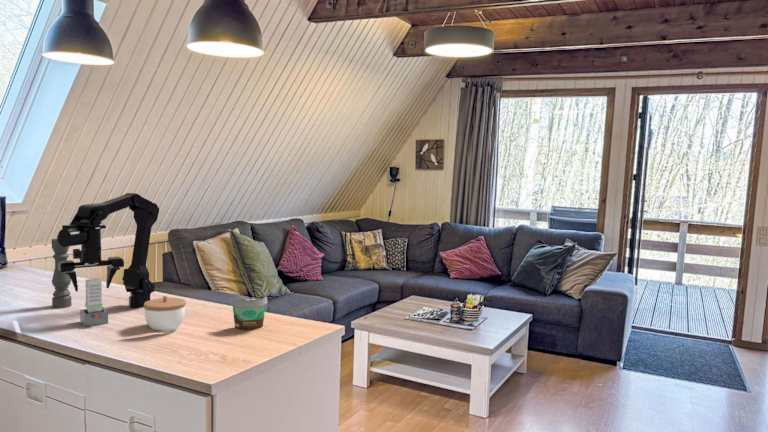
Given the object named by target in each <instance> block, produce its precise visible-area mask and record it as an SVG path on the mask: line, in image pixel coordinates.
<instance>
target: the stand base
mask: <svg viewBox="0 0 768 432" xmlns="http://www.w3.org/2000/svg"><path fill="white" fill-rule="evenodd" d="M79 320H80V323H81V325H82V326H83V327H93V326H100V325H107V324H109V311H108V310H107V309H106V308H105V307H103V306H102V312H98V313H90V314H88V313H87V312H86V308H85V309H80V310H79Z"/></svg>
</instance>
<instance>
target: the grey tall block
mask: <svg viewBox="0 0 768 432" xmlns="http://www.w3.org/2000/svg"><path fill="white" fill-rule="evenodd" d="M102 285H103V283H102V280H101V279H100V278H89V279H85V303H84V305H85V306H84V307H85V309H86V312H87V313H88V314H90V313H98V312H102V307H103V300H102V299H103V295H102V294H103V291H102V290H103V289H102Z"/></svg>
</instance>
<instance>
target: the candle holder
mask: <svg viewBox="0 0 768 432" xmlns="http://www.w3.org/2000/svg"><path fill="white" fill-rule="evenodd" d="M51 249H52V251H53V253H54V254H53V255H52V258H53V260H54V271H53V275H52V279H51V284H52V286H53V287H54V291H53V293H52V295H53V296H52V297H51V298H52V299H51V304H52V305H51V307H52V308H53V309H65V308H69V307H71V306H72V296H71V291H69V286H70V285H71V284H72V281H71V279H70V277H69V275H68V274H65V273H64V272H60V271H59V270H58V263H59V262H60V261H67V260H68V258H69V257H70V255H69V254H68V251H69V249H70V247H62V246H61V245H60V244H59V242H58V240H57V238H52V239H51Z"/></svg>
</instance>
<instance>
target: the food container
mask: <svg viewBox="0 0 768 432" xmlns="http://www.w3.org/2000/svg"><path fill="white" fill-rule="evenodd" d="M267 304H268V297H267V295H265V296H264V297H261V298H260V297H259V298H254V297H253V298H251V297H250V298H249V297H248V298H245V299H235V298H231V300H230V305H231V306H232V313H233V321H234V328H235V329H237V330H242V331H253V330H259V329H261V328H263V327H264V320H265V312H266V305H267Z"/></svg>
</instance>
